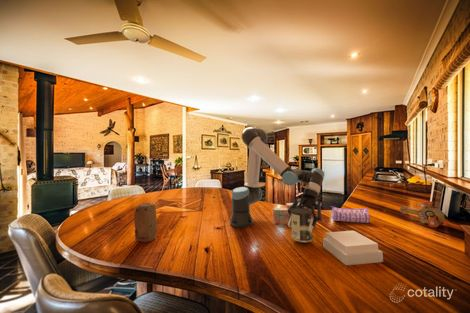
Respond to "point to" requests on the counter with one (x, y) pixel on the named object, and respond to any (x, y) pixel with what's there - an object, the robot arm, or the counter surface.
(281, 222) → the stack of blocks
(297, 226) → the coffee can
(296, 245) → the counter surface
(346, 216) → the pencil case
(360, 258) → the tower base
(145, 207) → the block
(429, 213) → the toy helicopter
